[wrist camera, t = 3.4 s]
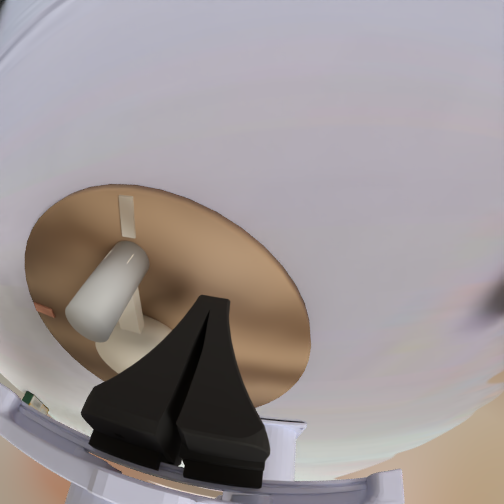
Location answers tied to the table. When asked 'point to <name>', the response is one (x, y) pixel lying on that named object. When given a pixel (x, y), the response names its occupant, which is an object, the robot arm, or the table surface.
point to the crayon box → (34, 403)
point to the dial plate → (171, 277)
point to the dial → (116, 308)
